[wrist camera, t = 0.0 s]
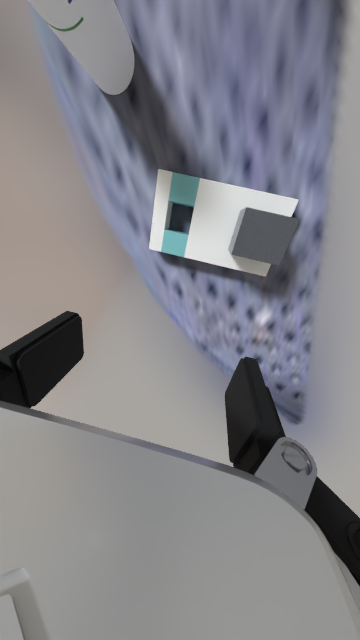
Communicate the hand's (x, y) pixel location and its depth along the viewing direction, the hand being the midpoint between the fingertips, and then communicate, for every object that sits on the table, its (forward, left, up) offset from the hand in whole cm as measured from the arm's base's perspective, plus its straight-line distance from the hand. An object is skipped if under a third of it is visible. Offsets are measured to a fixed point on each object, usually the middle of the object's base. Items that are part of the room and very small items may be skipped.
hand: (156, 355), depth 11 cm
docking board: (-7, +2, -31) cm, 32 cm away
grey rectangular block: (-7, +9, -31) cm, 33 cm away
